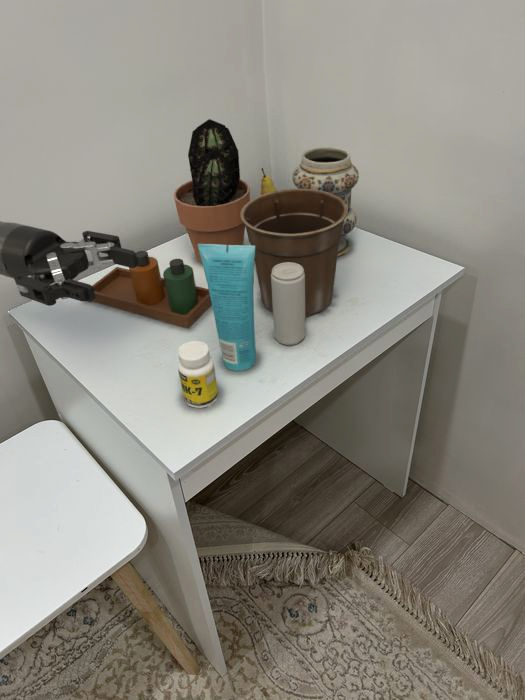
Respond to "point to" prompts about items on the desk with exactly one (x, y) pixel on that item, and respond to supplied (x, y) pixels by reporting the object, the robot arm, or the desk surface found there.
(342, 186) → the apothecary jar
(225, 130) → the potted plant
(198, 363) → the supplement bottle
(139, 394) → the desk surface
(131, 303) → the serving tray
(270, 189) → the fruit
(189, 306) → the green bottle
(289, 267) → the beverage can
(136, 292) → the amber bottle
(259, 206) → the plant pot
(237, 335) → the tube
